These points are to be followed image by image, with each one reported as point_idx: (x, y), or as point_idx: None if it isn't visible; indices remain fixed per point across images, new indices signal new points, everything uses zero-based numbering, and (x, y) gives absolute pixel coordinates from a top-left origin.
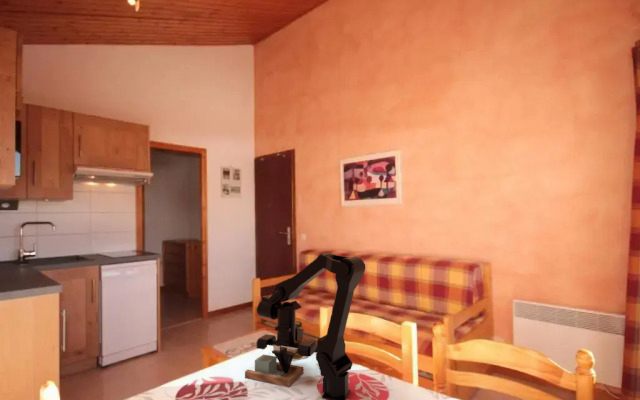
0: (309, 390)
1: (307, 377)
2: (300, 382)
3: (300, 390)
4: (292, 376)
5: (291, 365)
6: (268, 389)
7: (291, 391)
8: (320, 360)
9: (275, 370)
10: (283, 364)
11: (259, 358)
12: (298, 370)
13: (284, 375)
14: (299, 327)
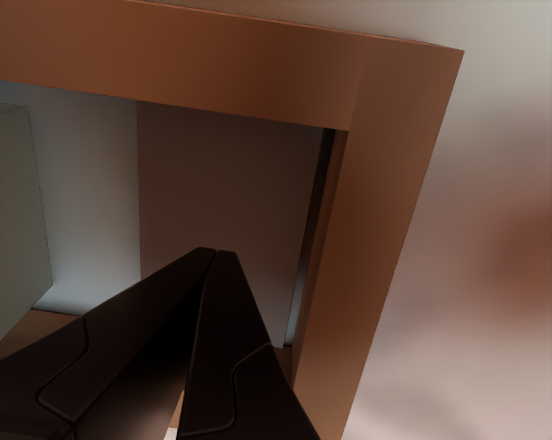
0: (541, 404)
1: (503, 160)
2: (427, 293)
3: (452, 415)
4: (350, 383)
5: (203, 52)
6: (173, 436)
7: (373, 436)
8: None
9: (10, 147)
10: (165, 430)
11: None
12: (392, 219)
13: (193, 221)
14: None
